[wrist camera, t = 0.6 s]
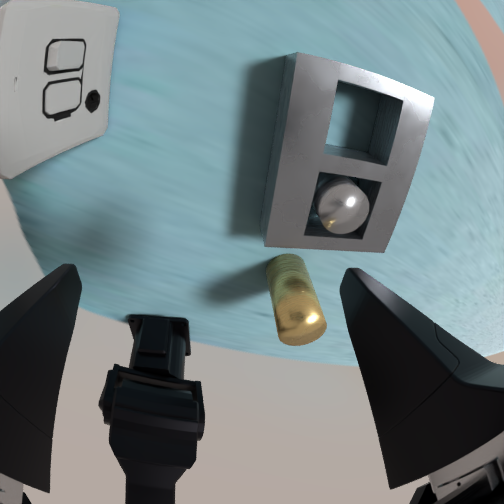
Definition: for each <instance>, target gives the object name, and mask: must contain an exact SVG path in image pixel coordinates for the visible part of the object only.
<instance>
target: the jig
mask: <svg viewBox="0 0 504 504" xmlns="http://www.w3.org/2000/svg"><path fill="white" fill-rule="evenodd" d="M338 82H342V83H345V84H349V85H353V86H356V87H359V88H363V89H366V90H369V91H372V92H375V93H379V94H381V99H380V104H379V108H378V113H377V117H376V122H375V126H374V130H373V134H372V138H371V142H370V146H369V150H368V153H367V152H363V151H358V150H353V149H348V148H343V147H338V146H333V145H328V144H325V143H326V138H327V134H328V129H329V124H330V119H331V114H332V109H333V104H334V99H335V93H336V88H337V83H338ZM434 99H435V98H433V97H431V96H429V95H427V94H425V93H423V92H420V91H418V90H416V89H414V88H411V87H409V86H407V85H404V84H402V83H399V82H397V81H394V80H392V79H389V78H386V77H384V76H381V75H378V74H375V73H373V72H370V71H367V70H364V69H360V68H357V67H354V66H351V65H347V64H344V63H340V62H337V61H333V60H329V59H325V58H321V57H317V56H313V55H308V54H304V53H299V52H297V53H293V54H289V55H286V60H285V66H284V73H283V79H282V86H281V92H280V99H279V105H278V112H277V118H276V124H275V131H274V137H273V144H272V150H271V156H270V163H269V169H268V175H267V182H266V188H265V194H264V201H263V207H262V213H261V220H260V228H261V233H262V237H263V242H264V246H265V247H280V248H300V249H320V250H339V251H358V252H377V253H384V252H385V250H386V247H387V245H388V243H389V240H390V238H391V235H392V233H393V231H394V228H395V226H396V223H397V220H398V218H399V215H400V213H401V210H402V207H403V205H404V202H405V199H406V196H407V194H408V191H409V188H410V185H411V182H412V179H413V176H414V173H415V170H416V167H417V164H418V160H419V157H420V154H421V150H422V147H423V143H424V140H425V136H426V132H427V129H428V125H429V121H430V117H431V112H432V108H433V104H434ZM319 171H320V172H326V173H333V174H340V175H346V176H352V177H358V178H361V179H360V183H359V186H358V187H359V188H360V189H361V191H362V192H363V193H364V194H365V195H366V196H367V198H368V201H369V212H368V215H367V217H366V219H365V221H364V222H363V223H362V224H361V225H360V226H359V227H358V228H357V229H355V230H354V231H352V232H349V233H345V234H336V233H332V232H330V231H329V230H327V229H326V228H325V227H324V225H323V223H322V222H321V220H320V218H319V217H314V216H309V212H310V208H311V204H312V200H313V196H314V191H315V187H316V183H317V179H318V174H319Z"/></svg>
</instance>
